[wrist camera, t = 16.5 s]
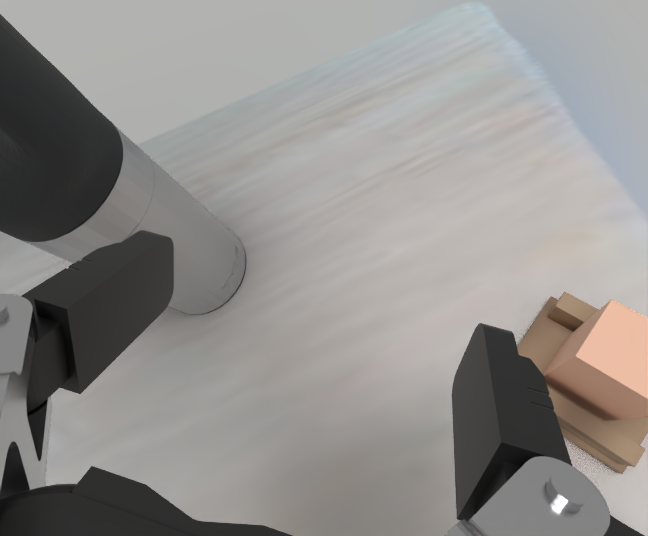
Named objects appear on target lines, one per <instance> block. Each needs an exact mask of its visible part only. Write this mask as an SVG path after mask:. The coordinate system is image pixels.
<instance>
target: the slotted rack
mask: <svg viewBox="0 0 648 536" xmlns="http://www.w3.org/2000/svg"><path fill="white" fill-rule="evenodd" d="M597 311H599V310H598V309H596V308H594V307H592V306H591V305H589V304H587V303H585V302H583V301H581V300H579V299H578V298H576V297H574V296H572V295H570V294H568V293H566V292H564V293H563V295H562V296H561V297H560V298H559V300H557V299H555V298H553V297H552V296H551V297H550V299H549V300H548V302H547V303H546V305H545V306H544V308H543V309H542V311H541V312H540V314H539V315H538V317H537V318H536V320H535V321H534V323H533V324H532V326H531V327H530V329H529V330H528V332H527V333H526V335H525V336H524V338H523V339H522V341H521V342H520V344H519V345H518V347H517V350H518V354H519V355H520V356H523V357H527V358H530V359H531V360H532V361H533V363H534V364H535V365H536V366H537V368H538V369H539V370H540V371H541V373H542V374H543V373H544V371H545V369H546V368H547V366H548V365H549V363H550V362H551V360H552V359H553V357H554V356H555V354H556V353H557V351H558V349H559V348H560V346H561V345H562V343H563V342H564V340H565V339H566V338H567V337H568V336H569V335H570V334H572V333H573V332H574V331H575V330H576V329H577V328H579V327H580V326H581V325H582V324H583V323H585V322H586V321H587V320H588V319H589V318H590V317H592V316H593V315H594V314H595V313H596V312H597ZM547 387H548V390H549V393H550V394H549V397H551V400H552V403H553V406H554V412H555V413H556V416H557V419H558V422H559V425H560V429H561V432H562V435H563V436H564V437H565V438H566V439H568V440H569V441H571V442H572V443H574V444H575V445H577V446H578V447H580V448H581V449H583V450H584V451H586V452H587V453H589V454H590V455H592V456H593V457H595V458H596V459H597V460H599V461H600V462H602V463H603V464H605V465H606V466H608V467H609V468H611V469H612V470H614V471H615V472H617V473H622V474H623V472H624V471H625V469H626V467H627V466H634V467H635V466H636V464H637V463H638V461H639V459H640V458H641V456H642V454H643V453H644V451H645V448H643V447H642V446H640V444H641V442H642V441H643V439H644V437H645V436H646V434H647V433H648V417H644V418H632V419H620V420H609V421H605V420H603V419H601V418H600V417H598V416H597V415H595V414H594V413H592V412H590V411H589V410H587V409H586V408H584V407H583V406H581V405H579V404H578V403H576V402H575V401H573V400H572V399H570V398H568V397H567V396H565V395H564V394H562V393H561V392H559V391H557V390H556V389H554V388H553V387H551V386H550V385H548V384H547Z"/></svg>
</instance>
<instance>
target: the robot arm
mask: <svg viewBox="0 0 648 536" xmlns="http://www.w3.org/2000/svg"><path fill="white" fill-rule="evenodd" d="M0 231H2V232H4V233H6V234H8V235H10V236H13V237H15V238H17V239H20V240H22V241H24V242H26V243H28V244H31V245H33V246H35V247H37V248H40V249H42V250H44V251H46V252H49V253H51V254H53V255H55V256H57V257H60V258H63V259H65V260H67V261H69V262H71V263H73V264H72V265H70V266H69V268H68V269H66V268H65V269H64V270H62V271H61V272H59V273H57V274H56V275H54V276H53V277H51V278H49V279H48V280H46V281H44V282H43V283H41V284H40V285H38V286H36V287H35V288H33V289H32V290H30V291H28V292H27V293H25V294H24V295H22V296H18V295H13V294H0V536H292V535H289V534H286V533H283V532H280V531H278V530H275V529H272V528H269V527H266V526H263V525H248V524H232V523H217V522H202V521H197V520H194V519H192V518H191V517H189V516H188V515H186V514H185V513H184V512H182V511H181V510H180V509H178V508H177V507H175V506H174V505H173V504H171V503H170V502H169V501H167V500H166V499H165V498H163V497H162V496H160V495H159V494H158V493H156V492H155V491H154V490H152V489H151V488H150V487H148V486H147V485H145V484H142V483H139V482H136V481H134V480H131V479H128V478H125V477H122V476H119V475H116V474H113V473H110V472H108V471H105V470H102V469H99V468H96V467H93V466H91V468H90V469H89V470H88V471H87V473H86V474H85V475H84V476H83V478H82V479H81V480H80V481H79V483H78V484H59V485H51V486H46V464H47V454H48V443H49V433H50V423H51V412H52V399H51V395H52V394H53V393H54V392H55V391H56V390H57V389H58V388H59V387H60V388H63V389H66V390H69V391H72V392H75V393H78V394H81V393H82V392H83V391H84V390H85V389H86V388H87V387H88V386H89V385H90V384H91V383H92V382H93V381H94V380H95V379H96V378H97V377H98V376H99V375H100V374H101V373H102V372H103V371H104V370H105V369H106V368H107V367H108V366H109V365H110V364H111V363H112V362H113V361H114V360H115V359H116V358H117V357H118V356H119V355H120V354H121V353H122V352H123V351H124V350H125V349H126V348H127V347H128V346H129V345H130V344H131V343H132V342H133V341H134V340H135V339H136V338H137V337H138V336H139V335H140V334H141V333H142V332H143V331H144V330H145V329H146V328H147V327H148V326H149V325H150V324H151V323H152V322H153V321H154V320H155V319H156V318H157V317H158V316H159V315H160V314H161V313H162V312H163V311H164V310H165V309H166V308H167V306H169V307H172V308H174V309H176V310H178V311H181V312H183V313H187V314H203V313H207V312H210V311H212V310H214V309H216V308H218V307H220V306H221V305H223V304H224V303H225V302H226V301H228V300H229V298H230V297H231V296H232V295H233V294H234V293H235V291H236V290H237V288H238V287H239V285H240V283H241V280H242V278H243V275H244V271H245V266H246V261H245V252H244V248H243V246H242V244H241V242H240V240H239V239H238V238H237V237H236V236H235V234H234V233H232V232H231V231H230V230H229V229H228V228H227V227H226V226H225V225H224V224H223V223H221V222H220V221H219V220H218V219H217V218H216V217H215V216H214V215H213V214H212V213H211V212H210V211H209V210H207V209H206V208H205V207H204V206H203V205H202V204H201V203H200V202H199V201H198V200H196V199H195V198H194V197H193V196H192V195H191V194H190V193H189V192H188V191H186V190H185V189H184V188H183V187H182V186H181V185H180V184H179V183H178V182H177V181H175V180H174V179H173V178H172V177H171V176H170V175H169V174H168V173H167V172H166V171H164V170H163V169H162V168H161V167H160V166H159V165H158V164H157V163H156V162H154V161H153V160H152V159H151V158H150V157H149V156H148V155H147V154H146V153H144V152H143V151H142V150H141V149H140V148H139V147H138V146H137V145H135V144H134V143H133V142H132V141H131V140H130V139H129V138H128V137H127V136H126V135H124V134H123V133H122V132H121V131H120V130H119V129H118V128H117V127H115V126H114V125H113V123H112V122H111V121H109V120H108V119H107V118H106V117H105V116H104V115H103V114H102V113H100V112H99V111H98V110H97V109H96V108H95V107H94V106H93V105H92V104H91V103H90V102H89V101H88V100H87V99H86V98H85V97H84V96H83V95H82V94H81V92H80V91H78V90H77V88H76V87H75V86H74V85H73V84H72V83H71V82H70V81H69V80H68V79H67V78H66V77H65V76H64V75H63V74H62V73H61V72H60V71H59V70H58V69H57V68H56V67H55V66H54V65H52V64H51V63H50V62H49V61H48V60H47V59H46V58H45V57H44V56H43V55H41V53H40V52H38V51H37V50H36V49H35V48H34V47H33V46H32V45H31V44H30V43H29V42H28V41H27V40H26V39H25V38H24V37H23V36H22V35H21V34H20V33H19V32H18V31H17V30H16V29H15V28H14V27H13V26H12V25H11V24H10V23H9V22H8V21H7V20H6V19H5V18H4V17H3V16H2V15H1V14H0ZM549 394H550V393H549V390H548V387H547V384H546V381H545V377H544V375H543V374H542V373H541V371H540V370H539V369H538V368H537V366H536V365H535V364H534V363H533V361H532V360H531V359H530V358H527V357H523V356H520V355H519V354H518V350H517V346H516V342H515V338H514V334H513V333H512V332H511V331H508V330H504V329H500V328H497V327H493V326H489V325H486V324H482V323H480V324H478V326H477V327H476V329H475V331H474V333H473V335H472V337H471V340H470V342H469V344H468V346H467V349H466V351H465V353H464V356H463V358H462V360H461V362H460V365H459V367H458V369H457V372H456V375H455V378H454V383H453V389H452V407H453V432H454V458H455V483H456V508H457V519H458V520H461V521H460V522H458V523H457V524H456V525H455V526H454V527H453V528H452V529H451V530H450V531H449V532H448V533H447V534H446V535H445V536H644V535H642V534H640V533H639V532H637V531H635V530H634V529H632V528H630V527H628V526H627V525H625V524H623V523H622V522H620V521H618V520H617V519H615V518H614V517H612V516H611V515H610V512H609V509H608V506H607V503H606V501H605V499H604V497H603V496H602V494H601V493H600V491H599V490H598V489H597V488H596V486H595V485H594V484H593V483H592V482H591V481H590V480H589V479H588V478H587V477H586V476H585V475H584V474H582V473H581V472H580V471H578V470H577V469H576V468H574V467H572V464H571V460H570V457H569V454H568V451H567V448H566V445H565V441H564V438H563V435H562V432H561V429H560V425H559V422H558V419H557V416H556V413H555V412H554V406H553V403H552V400H551V397H549Z"/></svg>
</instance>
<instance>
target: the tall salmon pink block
mask: <svg viewBox="0 0 648 536" xmlns="http://www.w3.org/2000/svg"><path fill="white" fill-rule="evenodd" d="M543 375H544V377H545V381H546V384H548V385H550V386H551V387H553V388H554V389H556V390H557V391H559V392H561V393H562V394H564V395H565V396H567V397H568V398H570V399H572V400H573V401H575V402H576V403H578V404H579V405H581V406H583V407H584V408H586V409H587V410H589V411H590V412H592V413H594V414H595V415H597V416H598V417H600V418H601V419H603V420H605V421H609V420H620V419H632V418H644V417H648V318H647V317H645V316H643V315H641V314H639V313H637V312H635V311H633V310H631V309H630V308H628V307H626V306H624V305H622V304H620V303H618V302H616V301H614V300H610V301H609V302H608V303H607V304H606V305H605V306H603V307H602V308H601V309H600V310H599V311H597V312H596V313H595V314H594V315H593V316H592V317H590V318H589V319H588V320H587V321H586V322H585V323H583V324H582V325H581V326H580V327H579V328H577V329H576V330H575V331H574V332H573V333H572V334H570V335H569V336H568V337H567V338H566V339H565V340H564V342H563V343H562V345H561V346H560V348H559V349H558V351H557V353H556V354H555V356H554V357H553V359H552V360H551V362H550V363H549V365H548V366H547V368H546V369H545V371H544V373H543Z"/></svg>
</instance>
